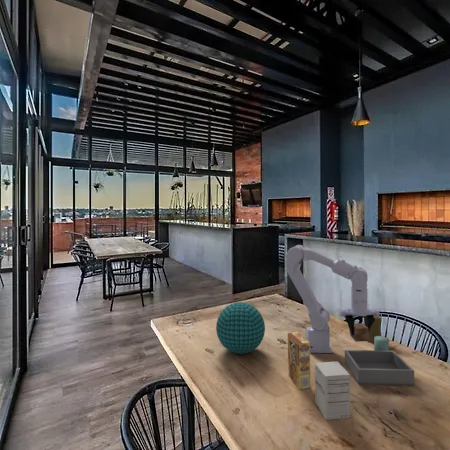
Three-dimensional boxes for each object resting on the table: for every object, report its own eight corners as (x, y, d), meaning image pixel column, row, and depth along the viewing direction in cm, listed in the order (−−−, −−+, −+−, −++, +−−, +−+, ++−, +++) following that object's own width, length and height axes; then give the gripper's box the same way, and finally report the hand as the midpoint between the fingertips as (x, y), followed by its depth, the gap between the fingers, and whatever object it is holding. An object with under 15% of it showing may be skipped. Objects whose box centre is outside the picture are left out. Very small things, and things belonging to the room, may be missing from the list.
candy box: (311, 388, 95) (311, 342, 95) (299, 390, 94) (298, 343, 94) (298, 373, 104) (298, 331, 103) (287, 375, 103) (287, 332, 102)
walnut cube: (355, 341, 113) (355, 328, 112) (350, 335, 118) (350, 323, 117) (368, 341, 112) (368, 328, 112) (363, 335, 117) (362, 323, 117)
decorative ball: (206, 352, 121) (205, 304, 120) (238, 336, 136) (237, 293, 135) (244, 369, 108) (243, 315, 107) (274, 349, 122) (274, 302, 121)
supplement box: (314, 403, 88) (314, 362, 87) (338, 401, 89) (338, 360, 88) (325, 420, 81) (324, 376, 80) (350, 418, 81) (350, 374, 81)
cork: (384, 344, 125) (384, 319, 124) (368, 343, 126) (369, 318, 125) (379, 338, 131) (379, 314, 130) (365, 337, 132) (365, 313, 131)
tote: (358, 384, 97) (358, 369, 97) (344, 362, 110) (344, 350, 110) (414, 385, 96) (414, 370, 95) (393, 363, 109) (393, 350, 109)
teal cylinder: (377, 359, 113) (377, 341, 112) (372, 353, 118) (372, 335, 117) (391, 359, 112) (391, 341, 112) (385, 353, 117) (385, 336, 117)
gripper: (344, 303, 110) (344, 338, 111) (383, 302, 110) (383, 338, 111) (337, 297, 118) (337, 330, 118) (374, 297, 117) (374, 330, 118)
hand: (359, 333), depth 115 cm, fingers closed on walnut cube, 5 cm apart
